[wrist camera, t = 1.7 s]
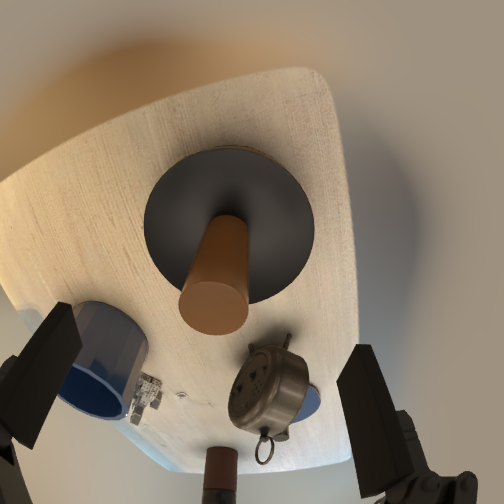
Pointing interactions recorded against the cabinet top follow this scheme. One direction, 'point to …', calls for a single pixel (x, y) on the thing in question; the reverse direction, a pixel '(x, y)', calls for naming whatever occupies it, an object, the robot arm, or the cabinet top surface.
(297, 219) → the lid
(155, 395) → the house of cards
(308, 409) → the pot lid
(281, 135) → the cabinet top surface
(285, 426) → the alarm clock
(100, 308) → the pot
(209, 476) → the lamp
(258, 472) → the cabinet top surface
